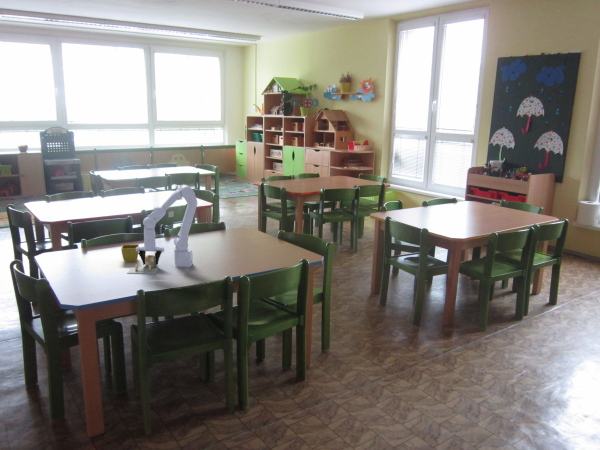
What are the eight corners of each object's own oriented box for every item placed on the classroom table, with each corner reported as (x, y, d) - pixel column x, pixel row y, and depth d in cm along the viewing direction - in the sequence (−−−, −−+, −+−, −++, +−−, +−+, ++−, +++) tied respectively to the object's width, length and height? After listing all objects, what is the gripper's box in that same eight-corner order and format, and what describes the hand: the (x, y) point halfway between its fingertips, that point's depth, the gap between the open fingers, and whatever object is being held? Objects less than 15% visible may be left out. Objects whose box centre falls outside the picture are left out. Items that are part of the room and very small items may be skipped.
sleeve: (156, 265, 261) (155, 255, 260) (153, 268, 257) (153, 257, 256) (147, 265, 261) (147, 254, 260) (145, 268, 257) (144, 257, 256)
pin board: (159, 270, 256) (158, 263, 255) (154, 275, 248) (154, 267, 247) (132, 269, 255) (132, 262, 255) (127, 274, 248) (126, 267, 247)
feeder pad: (158, 266, 262) (158, 265, 262) (155, 269, 257) (155, 268, 256) (146, 266, 262) (145, 265, 262) (142, 269, 256) (142, 268, 256)
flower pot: (121, 264, 264) (121, 248, 262) (123, 260, 272) (122, 244, 270) (138, 263, 266) (138, 248, 264) (139, 259, 274) (138, 244, 272)
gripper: (165, 238, 260) (166, 262, 263) (138, 237, 260) (139, 261, 263) (161, 241, 253) (162, 266, 256) (134, 240, 253) (135, 265, 256)
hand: (150, 264), depth 259 cm, fingers open, 6 cm apart
